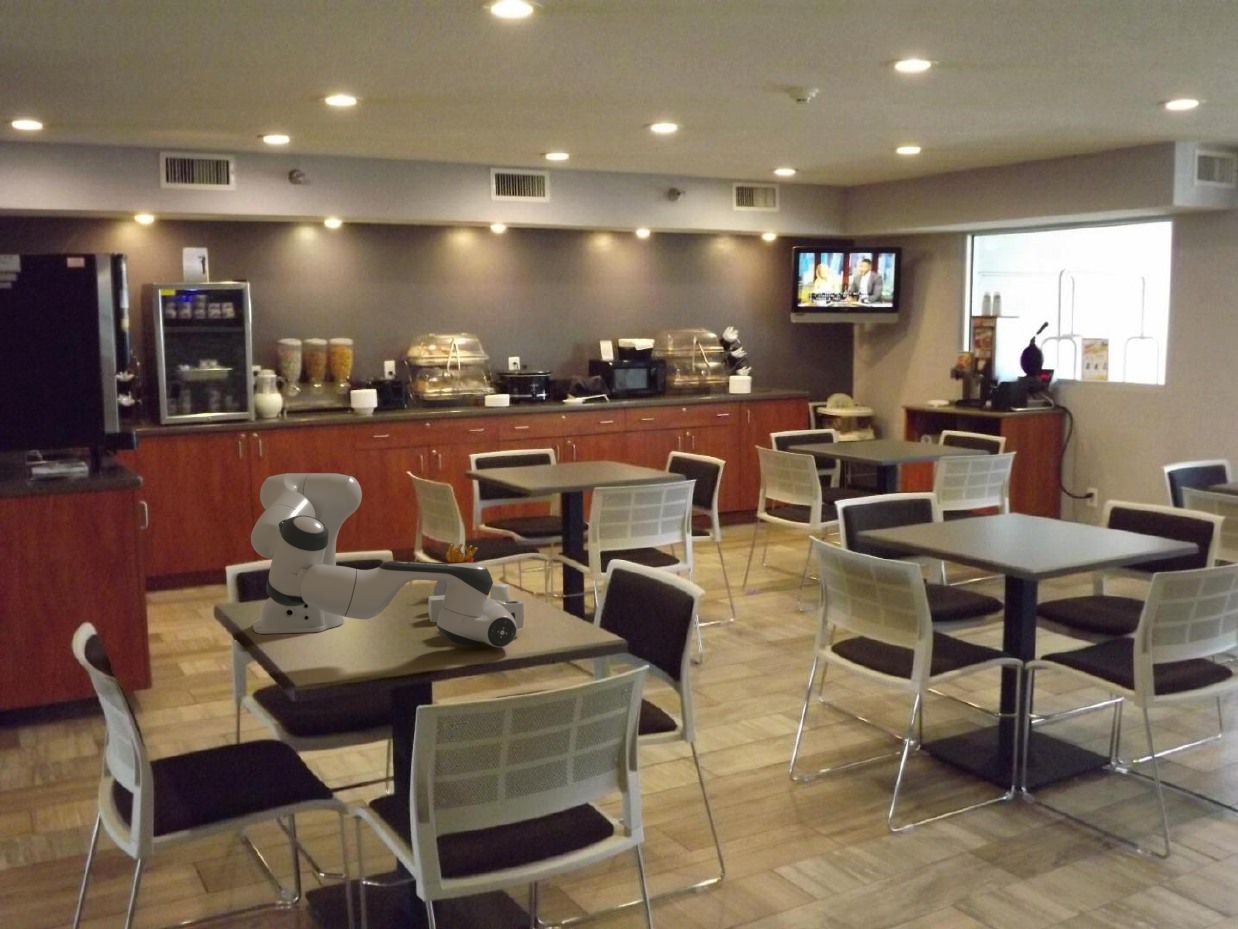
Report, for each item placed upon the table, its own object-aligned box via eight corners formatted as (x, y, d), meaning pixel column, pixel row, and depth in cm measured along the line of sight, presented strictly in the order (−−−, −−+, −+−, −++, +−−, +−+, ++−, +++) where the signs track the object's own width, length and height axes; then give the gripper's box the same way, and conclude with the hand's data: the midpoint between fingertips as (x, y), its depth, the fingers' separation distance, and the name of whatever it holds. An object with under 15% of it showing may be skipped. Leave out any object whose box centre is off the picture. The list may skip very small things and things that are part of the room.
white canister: (492, 618, 306) (492, 588, 305) (489, 614, 311) (488, 584, 310) (511, 616, 307) (511, 586, 306) (507, 612, 312) (507, 583, 311)
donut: (467, 606, 320) (466, 570, 319) (471, 608, 317) (471, 572, 316) (432, 610, 315) (431, 574, 314) (436, 613, 312) (435, 576, 311)
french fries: (452, 591, 340) (451, 540, 338) (480, 591, 339) (479, 540, 337) (444, 597, 331) (443, 545, 330) (473, 598, 330) (472, 545, 329)
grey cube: (431, 623, 301) (431, 600, 300) (428, 619, 306) (428, 596, 305) (451, 621, 303) (450, 599, 302) (447, 617, 307) (447, 595, 307)
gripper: (446, 633, 281) (437, 621, 294) (529, 627, 287) (516, 615, 300) (445, 608, 280) (436, 596, 293) (528, 602, 286) (516, 591, 299)
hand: (477, 606), depth 297 cm, fingers open, 8 cm apart
